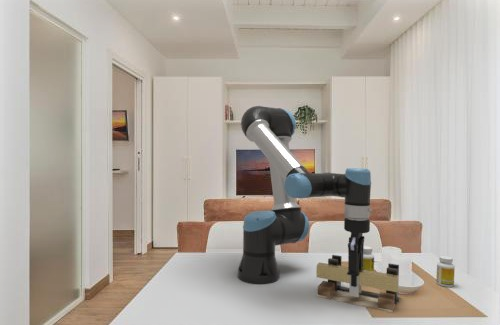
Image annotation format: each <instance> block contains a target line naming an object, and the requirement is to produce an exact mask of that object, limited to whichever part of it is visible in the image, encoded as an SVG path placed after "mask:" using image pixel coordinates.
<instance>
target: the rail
mask: <svg viewBox="0 0 500 325" xmlns="http://www.w3.org/2000/svg"><path fill="white" fill-rule="evenodd" d="M347 272H348V266H342V265H341V266H338V265H332V264H328V263H326V262H325V263H324V262H318V263H317V264H316V278H317V279H318V278H319V279H322V280H323V279H325V280H328V279H329V280H334V281H339V282H341V283H346V284H350V275H347ZM399 275H400V274H399ZM399 275H393V274H387V272H386V273H385V272H381V271H375V270H374V271H368V270H362V269H359V285H361V287H366V288H367V287H368V288H373V289H378V290H383V291H386V290H387V291H393V292H398V293H399V285H398V284H399V282H400V280H399V279H400V278H399V277H400V276H399Z"/></svg>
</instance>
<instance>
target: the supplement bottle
mask: <svg viewBox="0 0 500 325" xmlns="http://www.w3.org/2000/svg"><path fill="white" fill-rule="evenodd" d="M453 261H454V260H453V257H451V256H447V255H440V256H439V261H438V262H437V264H436V281H435V282H436V284H437V285H439V286H441V287H446V288H453V287H454V286H455V267H456V266H455V265H454V263H453Z"/></svg>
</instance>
